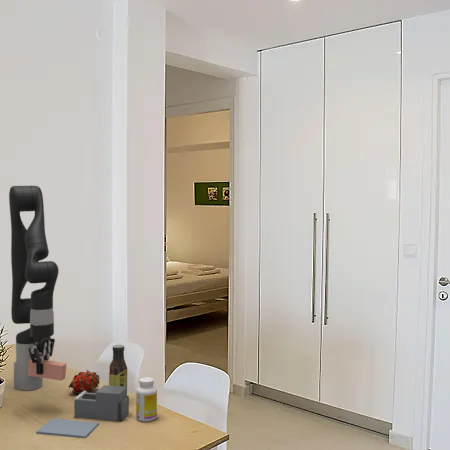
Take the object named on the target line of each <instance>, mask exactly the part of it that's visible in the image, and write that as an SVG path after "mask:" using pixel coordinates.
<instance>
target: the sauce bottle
mask: <svg viewBox="0 0 450 450" xmlns="http://www.w3.org/2000/svg"><path fill="white" fill-rule="evenodd" d="M108 385H110V386H123V387H127V388H128V367H127V363H126V360H125V345H123V344H115V345H112V360H111V361H110V363H109V372H108Z"/></svg>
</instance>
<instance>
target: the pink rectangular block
mask: <svg viewBox="0 0 450 450" xmlns="http://www.w3.org/2000/svg"><path fill="white" fill-rule="evenodd" d="M66 374H67V363H66V362H61V361H55V360H50V359H49V360H43V374H42V375H39V374H37V373H36V363H32V360H29V364H28V375H29V376H35V377H41V378H42V379H49V380H54V381H61V382H62V381H63V380H65V379H66Z"/></svg>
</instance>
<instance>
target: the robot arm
mask: <svg viewBox="0 0 450 450" xmlns="http://www.w3.org/2000/svg"><path fill="white" fill-rule="evenodd" d="M43 196H44V195H43V191H42V189H41V188H40V186H38V185H13V186H11V187H10V189H9V192H8V201H9V215H10V228H11V230H10V233H11V235H10V238H11V239H10V240H11V241H10V242H11V243H10V246H11V247H10V263H11V278H12V283H11V284H12V285H11V286H12V289H11V308H10V309H11V312H10V313H11V320H12V323H13V324H16V325H22V324H23V325H24V324H25V325H26V324H29V328H27V329H25V330H22V331H20V332H18V333H16V336H15V362H13V389H17V390H19V391H34V390H37V389H38V390H39V389H40V388H42V386H43V378H41V377H35V376H29V375H28V364H29V360H32V363H36V373H37V374H39V375H42V374H43V360H49V361H50V358H51V357H52V356H53V353H54V352H53V351H54V347H55V346H54V345H55V341H56V340H55V338H52V336H53V335H54V334H55V314H54V291H55V288H56V287H55V286H56V283H57V280H58V276H59V271H60V270H59V267H58V264H57V263H56V262H55V261H53V260H47V261H44V260H45V259H47V258H48V256H49V253H50V250H49V246H48V241H47V237H46V227H45V226H46V224H45V209H44V208H45V207H44V206H45V204H44V197H43ZM21 212H34V216H33V219H32V221H31V222H30V224H29V226H28V228H26V226H25V224H24V222H23V221H22V217H21ZM27 283H28V284H29V283H30V284H43V283H44V284H45V285H44V286H43V287H41V288H39V289H35V290H33V291H31V293H30V298H28V297H27V298H22V294H23V291H24V288H25V286H26V285H27Z"/></svg>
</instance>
